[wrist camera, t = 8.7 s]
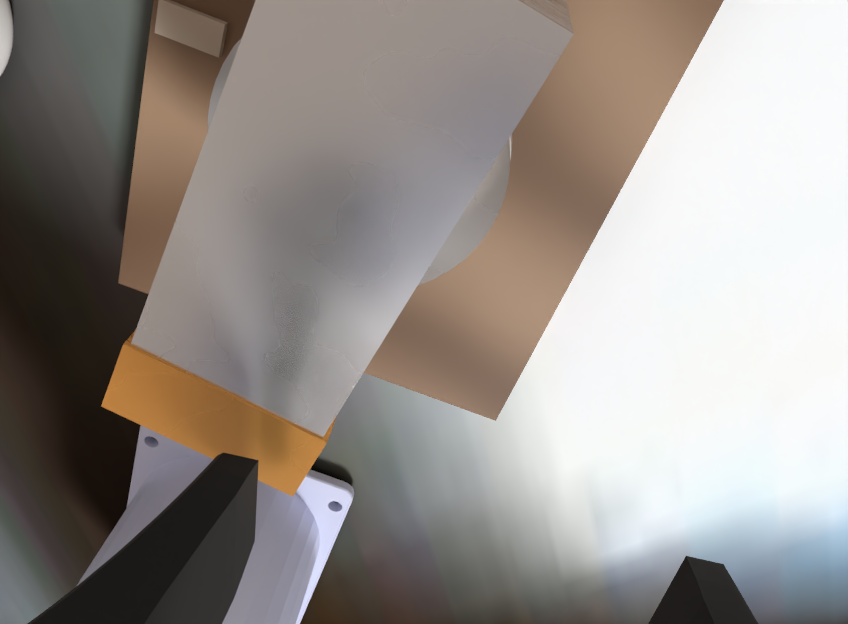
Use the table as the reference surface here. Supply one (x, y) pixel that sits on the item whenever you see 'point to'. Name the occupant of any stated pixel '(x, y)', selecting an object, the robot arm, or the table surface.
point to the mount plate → (522, 206)
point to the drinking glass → (5, 33)
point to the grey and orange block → (326, 211)
